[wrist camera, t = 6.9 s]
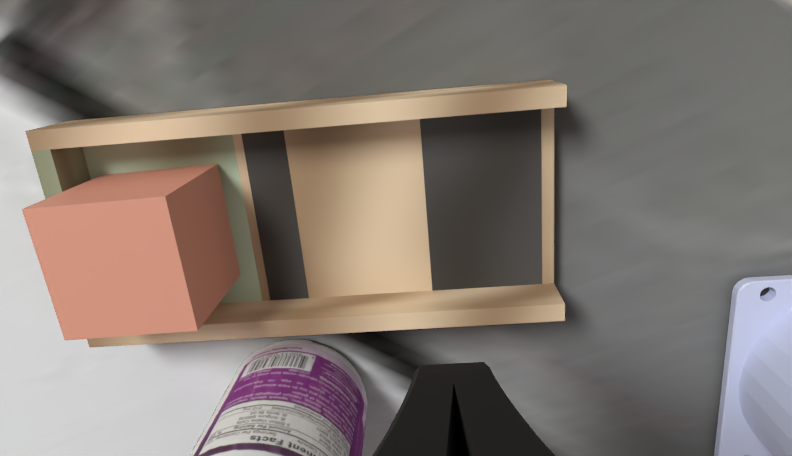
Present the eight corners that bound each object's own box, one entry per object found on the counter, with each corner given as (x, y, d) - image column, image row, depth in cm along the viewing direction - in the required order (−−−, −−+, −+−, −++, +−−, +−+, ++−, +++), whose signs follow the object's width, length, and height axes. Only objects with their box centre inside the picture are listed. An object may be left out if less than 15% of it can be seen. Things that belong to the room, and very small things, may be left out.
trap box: (550, 79, 18) (566, 85, 16) (550, 291, 20) (564, 320, 18) (69, 121, 19) (25, 131, 17) (122, 317, 21) (89, 347, 19)
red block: (217, 163, 19) (165, 196, 15) (240, 274, 20) (197, 330, 16) (102, 175, 19) (21, 209, 15) (132, 283, 20) (64, 340, 16)
